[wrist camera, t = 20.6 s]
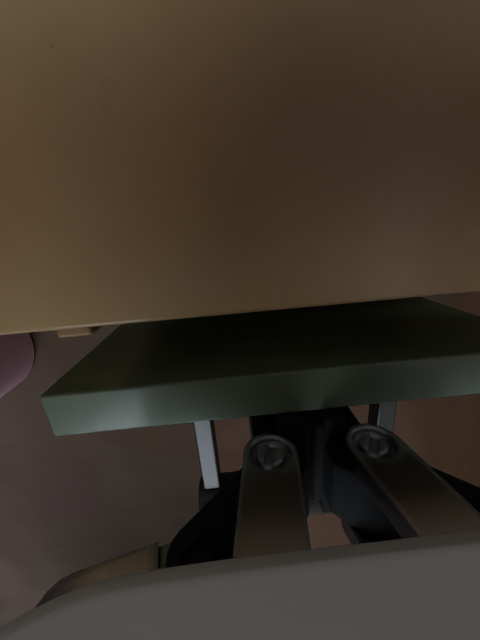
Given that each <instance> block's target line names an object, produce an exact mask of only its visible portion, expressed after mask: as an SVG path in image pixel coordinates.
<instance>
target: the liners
mask: <svg viewBox="0 0 480 640" xmlns="http://www.w3.org/2000/svg"><path fill="white" fill-rule="evenodd" d="M33 362H34V346H33V342H32V339H31V337H30V334H29V333H19V334H8V335H0V397H2V396H3V395H4V394H6V393H7V392H9V391H10V390H11V389H13V388H14V387H15V386H17V385H18V384H19V383H21V382H22V381H23V380H24V379H25V378H26V377H27V376H28V374H29V372H30V371H31V368H32V366H33Z"/></svg>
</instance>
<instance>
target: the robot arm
mask: <svg viewBox="0 0 480 640" xmlns="http://www.w3.org/2000/svg"><path fill="white" fill-rule="evenodd" d="M249 422H250V431H251V440H250V441H249V442H248V443H247V445H246V446H245V450H244V454H243V464H242V468H241V469H240V470H239V471H238V472H237V473H236V474H235V475H234V476H233V477H232V478H231V479H230V480H229V481H228V483H227V484H226V485H225V486H224V487H223V488H222V489H221V490H220V491H219V492H218V493H217V494H216V495H215V496H214V497H213V498H212V499H211V500H210V501H209V502H208V503H207V504H206V505H205V506H204V507H203V508H202V509H201V510H200V511H199V512H198V513H197V514H196V515H195V516H194V517H193V518H192V519H191V520H190V521H189V522H188V523H187V524H186V525H185V526H184V527H183V528H182V529H181V530H180V531H179V533H178V534H177V535H176V536H175V538H174V539H173V541H172V543H169V544H166V545H164V546H161V547H159V544H158V542H157V543H154V544H152V545H149V546H146V547H143V548H141V549H138V550H135V551H132V552H130V553H127V554H124V555H121V556H119V557H116V558H113V559H110V560H108V561H105V562H102V563H99V564H97V565H94V566H91V567H88V568H86V569H83V570H80V571H77V572H75V573H72V574H70V575H69V576H67V577H65V578H63V579H61V580H60V581H59V582H57V583H56V584H55V585H54V586H53V587H52V588H51V589H50V590H48V591H47V593H46V594H45V595H44V597H43V598H42V599H41V600H40V602H39V603H38V604H37V606H36V607H35V608H34V609H32V610H31V611H29V612H27V613H25V614H24V615H22V616H20V617H18V618H17V619H15V620H13V621H11V622H10V623H8V624H7V625H5V626H4V627H2V628H1V629H0V640H480V488H479V487H477V486H474V485H472V484H470V483H467V482H465V481H463V480H460V479H458V478H456V477H453V476H451V475H449V474H446V473H444V472H442V471H440V470H437V469H435V468H433V467H430V466H429V465H428V464H427V463H426V462H425V461H424V460H422V459H421V458H420V457H419V456H418V455H417V454H416V453H415V452H414V451H413V450H412V449H411V448H410V447H409V446H408V445H406V444H405V443H404V442H403V441H402V440H401V439H400V438H399V437H398V436H397V435H395V434H394V433H393V432H391V431H390V430H388V429H386V428H384V427H381V426H378V425H374V424H366V423H365V424H360V423H359V422H358V420H357V419H356V417H355V416H354V415H353V413H352V412H351V410H350V409H349V408H348V406H347V407H337V408H327V409H317V410H307V411H298V412H288V413H278V414H268V415H258V416H249ZM309 491H310V494H311V497H312V499H313V501H316V500H319V503H320V506H321V509H322V512H323V513H324V512H332V513H333V514H335V515H337V516H338V517H340V518H341V524H342V527H343V529H344V532H345V534H346V535H347V537H348V539H349V541H350V543H351V545H343V546H334V547H326V548H317V549H311V546H310V539H309V531H308V524H307V517H308V515H309Z"/></svg>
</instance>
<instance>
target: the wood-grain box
mask: <svg viewBox="0 0 480 640" xmlns="http://www.w3.org/2000/svg"><path fill="white" fill-rule="evenodd" d="M478 291H480V0H0V335H8V334H19V333H30V332H41V331H52V330H63V329H74V328H85V327H96V326H107V325H117V324H128V323H139V322H150V321H161V320H172V319H183V318H194V317H205V316H216V315H227V314H238V313H248V312H259V311H270V310H281V309H292V308H303V307H314V306H325V305H336V304H347V303H358V302H368V301H379V300H390V299H401V298H412V297H423V296H434V295H445V294H456V293H467V292H478Z"/></svg>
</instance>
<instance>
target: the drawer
mask: <svg viewBox="0 0 480 640" xmlns="http://www.w3.org/2000/svg"><path fill="white" fill-rule="evenodd" d="M101 327H102V326H96V327H85V328H74V329H63V330H56V332H57V335H58V336H59V337H61V338H64V337H74V336H85V335H91V334H93V333H94V332H96V331H97V330H98V329H100V328H101ZM475 393H480V317H479V316H476V315H473V314H470V313H467V312H464V311H461V310H458V309H455V308H452V307H449V306H446V305H443V304H440V303H437V302H434V301H431V300H428V299H425V298H422V297H412V298H401V299H390V300H379V301H368V302H358V303H347V304H336V305H325V306H314V307H303V308H292V309H281V310H270V311H259V312H248V313H238V314H227V315H216V316H205V317H194V318H183V319H172V320H161V321H150V322H139V323H128V324H121V325H120V326H119V327H118V328H117V329H116V330H114V331H113V332H112V333H111V334H110V335H109V336H108V337H107V338H105V339H104V340H103V341H102V342H101V343H100V344H99V345H98V346H96V347H95V348H94V349H93V350H92V351H91V352H90V353H89V354H87V355H86V356H85V357H84V358H83V359H82V360H81V361H79V362H78V363H77V364H76V365H75V366H74V367H73V368H72V369H70V370H69V371H68V372H67V373H66V374H65V375H64V376H63V377H61V378H60V379H59V380H58V381H57V382H56V383H55V384H54V385H52V386H51V387H50V388H49V389H48V390H47V391H46V392H45V393H43V394H42V395H41V401H42V404H43V406H44V409H45V412H46V414H47V417H48V420H49V422H50V425H51V428H52V430H53V433H54V435H55V436H61V435H71V434H81V433H91V432H101V431H111V430H120V429H130V428H140V427H150V426H160V425H170V424H179V423H189V422H193V425H194V431H195V437H196V444H197V450H198V456H199V462H200V468H201V474H202V476H201V479H200V483H199V511H200V510H201V509H202V508H203V507H204V506H205V505H206V504H207V503H208V502H209V501H210V500H211V499H212V498H213V497H214V496H215V495H216V494H217V493H218V492H219V491H220V490H221V489H222V488H223V487H224V486H225V485H226V484H227V483H228V481H229V480H230V479H231V478H232V477H233V476H234V475H235V474H236V473H237V472H238V471H233V472H224V473H221V471H220V464H219V456H218V449H217V441H216V434H215V427H214V420H219V419H229V418H239V417H248V416H258V415H268V414H278V413H288V412H298V411H307V410H317V409H327V408H337V407H347V406H357V405H366V404H369V415H368V424H374V425H378V426H381V427H384V428H386V429H388V430H390V431H391V432H393V428H394V421H395V413H396V405H397V401H406V400H416V399H425V398H435V397H445V396H455V395H465V394H475ZM324 513H332V512H324ZM314 514H323V512H322V509H321V506H320V503H319V500H316V501H313V499H312V497H311V494H310V491H309V515H314Z"/></svg>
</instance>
